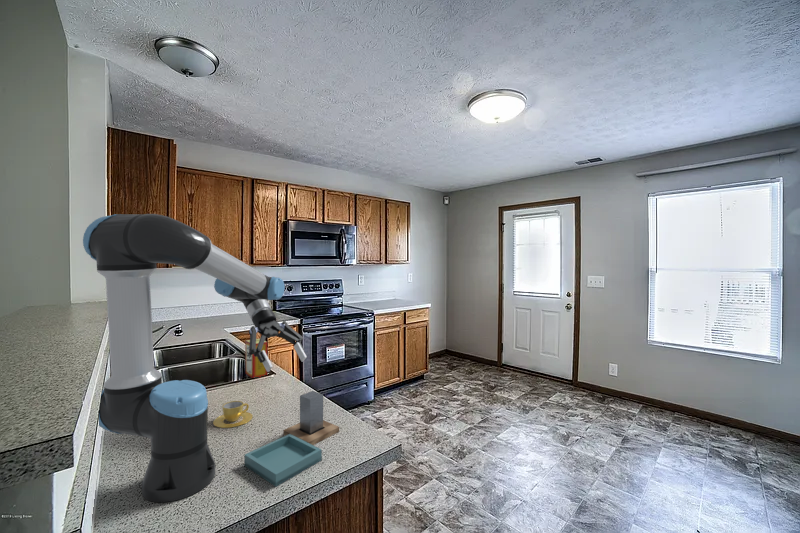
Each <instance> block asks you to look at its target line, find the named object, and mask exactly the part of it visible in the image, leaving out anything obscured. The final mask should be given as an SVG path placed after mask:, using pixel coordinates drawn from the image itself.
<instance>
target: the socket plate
mask: <svg viewBox="0 0 800 533" xmlns="http://www.w3.org/2000/svg"><path fill="white" fill-rule="evenodd" d="M282 433H283V436H286V435H288V434H291V435H293V436H295V437H297V438H299V439H301V440H303V441H305V442H307V443H309V444H312V445H314V446H315V445H317V444H318V443H321V442H323V441H324V440H326V439H328V438H330V437H332V436H333V435H335V434H337V433H340V426H338V425H336V424H333V423H331V422H329V421H326V420H324V419H323V429H322V430H320V431H318V432H316V433H314V434H312V435H309V434H306V433H304V432H302V431H300V422H298V423H296V424H293V425H291V426H290V427H287V428H285V429H283V432H282Z"/></svg>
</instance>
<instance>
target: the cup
mask: <svg viewBox="0 0 800 533" xmlns="http://www.w3.org/2000/svg"><path fill="white" fill-rule="evenodd" d="M245 406H246V407H245ZM244 407H245V409H244ZM221 408H222V413H223V414H222V415H219V416H218V417H216V418H215V419H214V420H213V422H212V424H213V425H214V426H215V427H218V428H222V429H223V428H224V429H226V428H227V429H229V428H236V427H239V426H243V425H245V424H247V423H249V422H250V421H251V420H252V419H253V417H254V416H253V414H252V413H251V412H248V411H249V408H250V405H249V404H248V403H246V402H245V403H244V402H243V401H241V400H232V401H228V402H225V403H223V405H222V407H221ZM240 417H242V420H240ZM225 420H226V421H227V422H229V423H226V422H224V421H225ZM238 420H239V421H238ZM236 421H238V422H236ZM232 422H233V423H232Z"/></svg>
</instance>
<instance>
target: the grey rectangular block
mask: <svg viewBox="0 0 800 533" xmlns="http://www.w3.org/2000/svg"><path fill="white" fill-rule="evenodd" d="M323 420H324V394H323V393H320V392H318V391H317V392H316V391H314V390H312V391H309V392H307V393H304V394H300V395H299V423H300V431H302V432H304V433H306V434H309V435H312V434H314V433H316V432H318V431H320V430H322V429H323Z"/></svg>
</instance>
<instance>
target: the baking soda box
mask: <svg viewBox="0 0 800 533" xmlns="http://www.w3.org/2000/svg"><path fill="white" fill-rule="evenodd" d="M259 341H260V337H258V338H256V349H257V346H258V343H259ZM244 345H245V348H244V349H245V350H244V351H245V353H244V355H245V356H244V358H245V359H244V360H245V362H244V363H245V364H244V366H245V375H247V376H248V377H249V378H251V379H252V378H254V377H259V378H262V377H261V376H264V375H267V376H268V372H267V371H266V369H265V367H264V365H263V363H261V362H260V361H259V359H258V357H255V356H254V354H252V355H250V354H249V345H250V339H245V341H244ZM262 350H264V351H265V353H266V354H267V355H268V341H266V340H265V341H264V344H263V347H262ZM262 350H261V352H262ZM264 377H265V376H264Z"/></svg>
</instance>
